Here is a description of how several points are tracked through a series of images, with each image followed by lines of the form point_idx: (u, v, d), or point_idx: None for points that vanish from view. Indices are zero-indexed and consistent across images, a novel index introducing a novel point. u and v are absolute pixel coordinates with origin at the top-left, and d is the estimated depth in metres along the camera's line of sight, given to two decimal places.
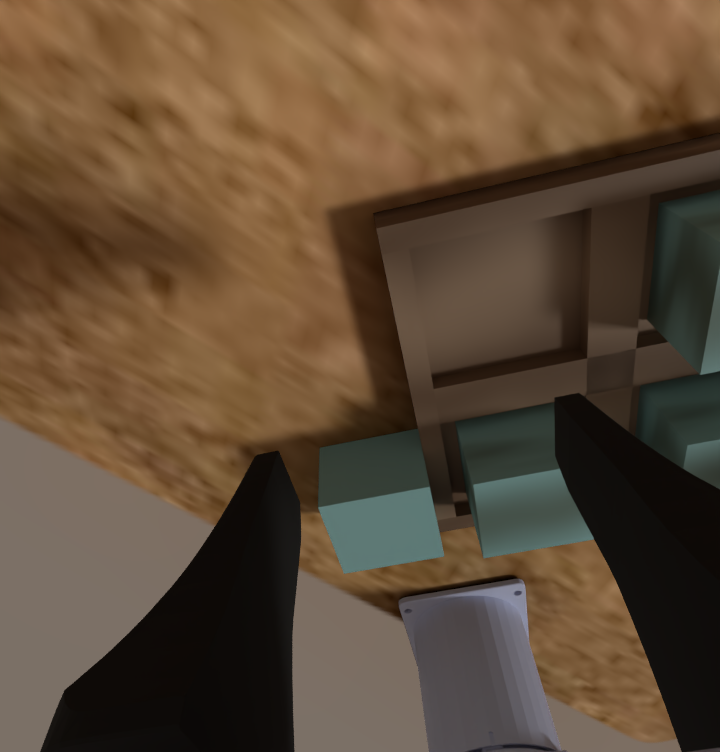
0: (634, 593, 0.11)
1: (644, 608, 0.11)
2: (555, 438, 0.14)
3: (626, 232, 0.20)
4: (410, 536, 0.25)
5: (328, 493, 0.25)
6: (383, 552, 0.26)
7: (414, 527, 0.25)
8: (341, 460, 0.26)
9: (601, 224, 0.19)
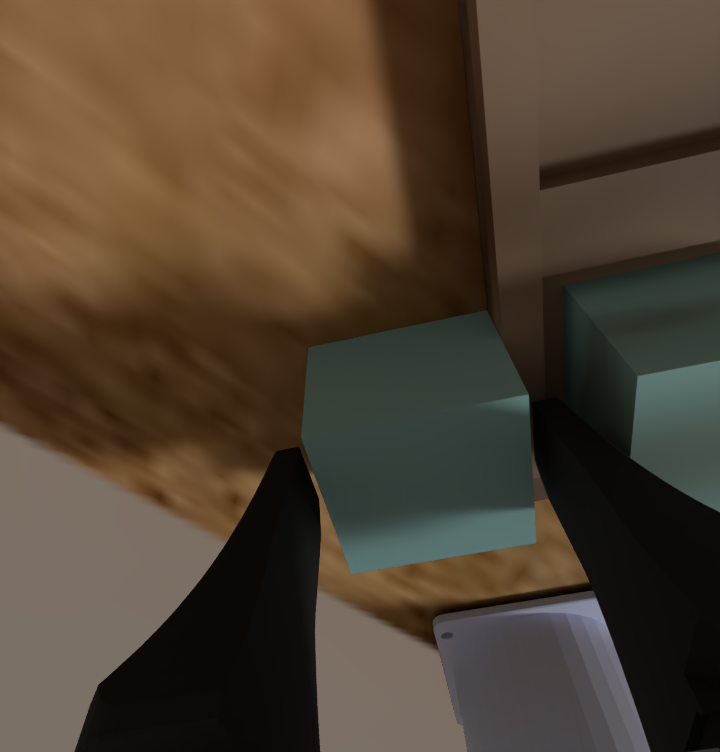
0: (607, 597, 0.11)
1: (616, 613, 0.11)
2: (534, 442, 0.14)
3: None
4: (479, 503, 0.13)
5: (322, 413, 0.13)
6: (425, 535, 0.14)
7: (488, 484, 0.13)
8: (348, 362, 0.14)
9: None
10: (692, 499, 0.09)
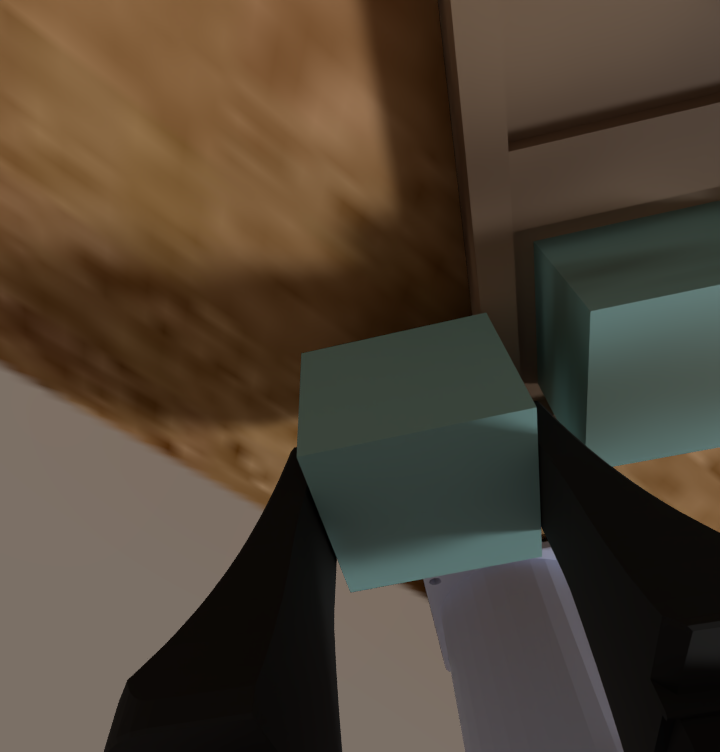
0: (583, 601, 0.11)
1: (591, 616, 0.11)
2: None
3: None
4: (483, 518, 0.13)
5: (319, 429, 0.12)
6: (428, 551, 0.13)
7: (494, 499, 0.12)
8: (343, 372, 0.13)
9: None
10: (664, 504, 0.09)
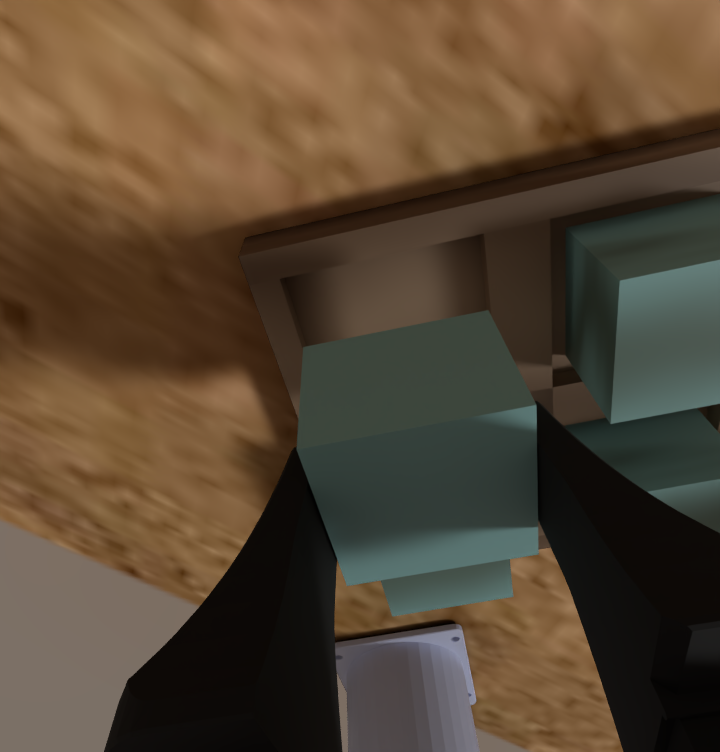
0: (583, 601, 0.11)
1: (591, 616, 0.11)
2: None
3: (527, 261, 0.17)
4: (481, 514, 0.13)
5: (318, 422, 0.12)
6: (425, 546, 0.13)
7: (492, 496, 0.12)
8: (345, 367, 0.13)
9: (497, 252, 0.17)
10: (663, 504, 0.09)
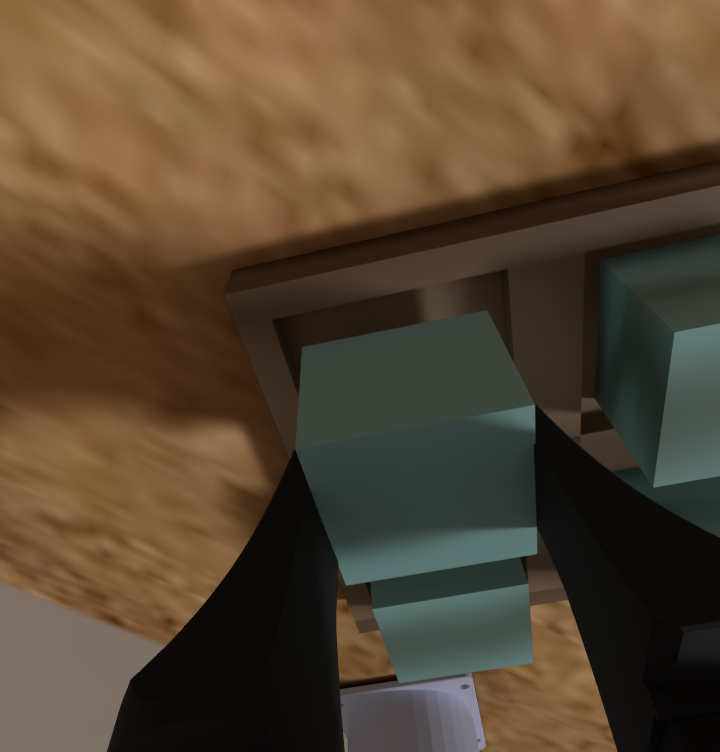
0: (578, 602, 0.11)
1: (585, 617, 0.11)
2: None
3: (556, 299, 0.15)
4: (479, 514, 0.13)
5: (318, 422, 0.12)
6: (423, 546, 0.13)
7: (490, 495, 0.12)
8: (344, 366, 0.13)
9: (522, 289, 0.15)
10: (657, 505, 0.09)
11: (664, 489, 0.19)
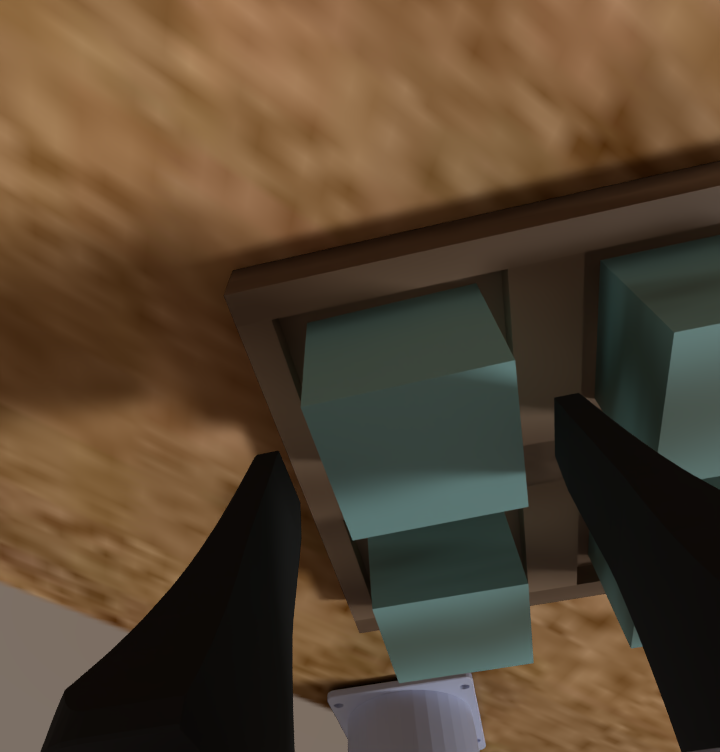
0: (634, 593, 0.11)
1: (644, 608, 0.11)
2: (555, 438, 0.14)
3: (556, 299, 0.15)
4: (471, 468, 0.14)
5: (320, 384, 0.13)
6: (422, 500, 0.15)
7: (481, 449, 0.14)
8: (344, 337, 0.15)
9: (522, 289, 0.15)
10: None
11: None
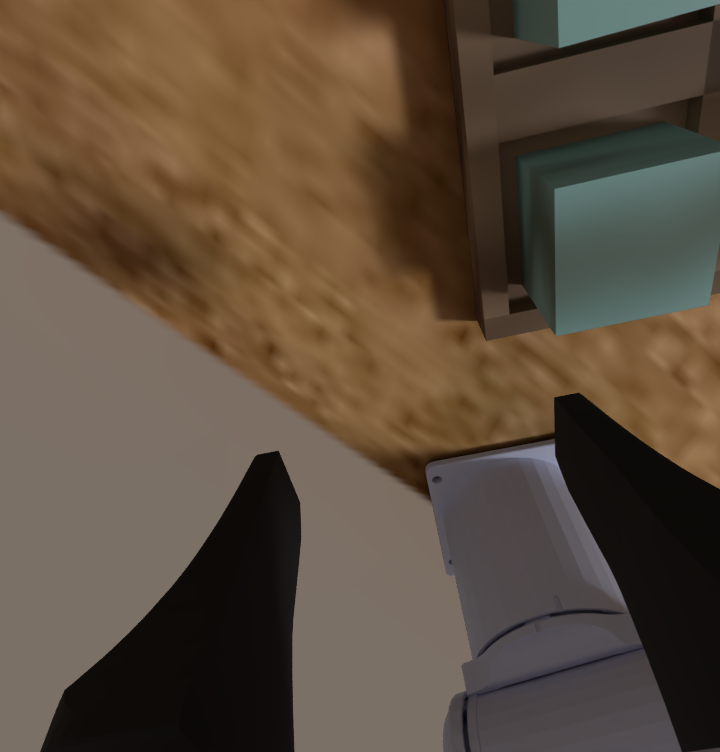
0: (634, 593, 0.11)
1: (644, 608, 0.11)
2: (555, 438, 0.14)
3: None
4: None
5: None
6: None
7: None
8: None
9: None
10: None
11: None
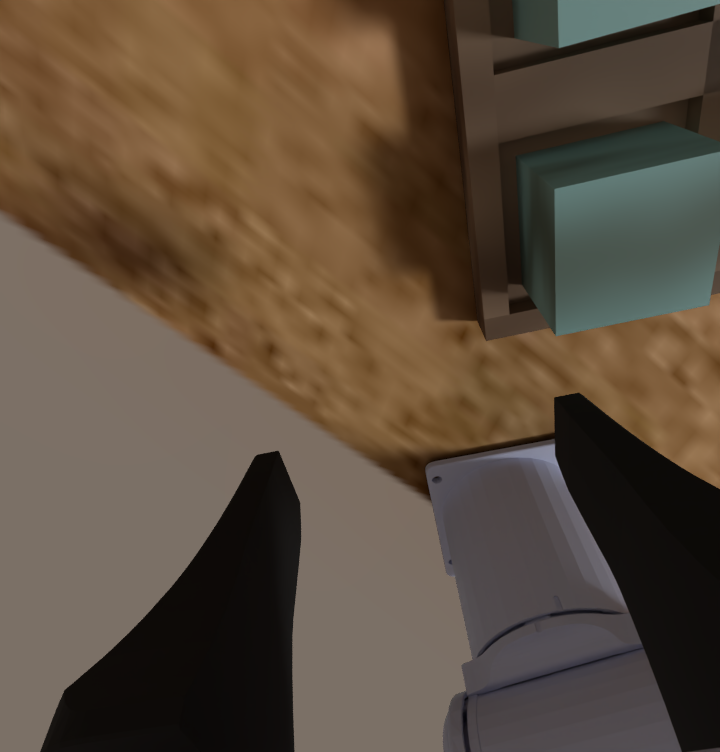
0: (634, 593, 0.11)
1: (644, 608, 0.11)
2: (555, 438, 0.14)
3: None
4: None
5: None
6: None
7: None
8: None
9: None
10: None
11: None
